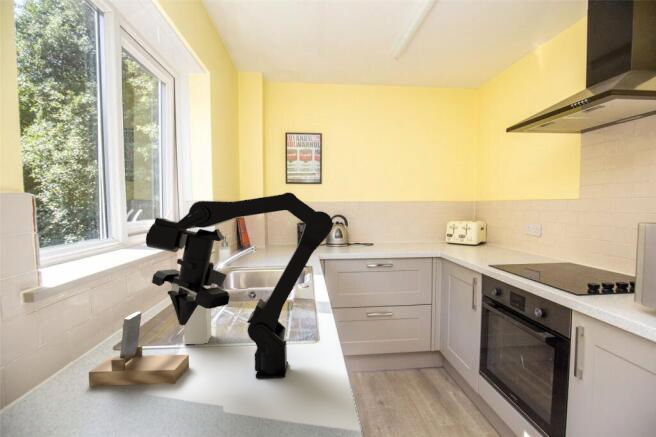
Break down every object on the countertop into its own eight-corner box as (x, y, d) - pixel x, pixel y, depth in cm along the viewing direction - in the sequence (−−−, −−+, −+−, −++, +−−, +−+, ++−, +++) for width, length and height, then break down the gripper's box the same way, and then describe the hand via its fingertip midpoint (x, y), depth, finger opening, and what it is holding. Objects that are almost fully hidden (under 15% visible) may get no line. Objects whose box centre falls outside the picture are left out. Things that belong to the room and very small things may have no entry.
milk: (211, 335, 92) (210, 261, 91) (206, 344, 86) (205, 264, 85) (189, 336, 91) (188, 261, 90) (183, 345, 85) (182, 265, 84)
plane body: (189, 367, 73) (188, 344, 73) (174, 383, 66) (174, 358, 66) (111, 368, 72) (111, 346, 72) (89, 385, 65) (88, 360, 65)
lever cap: (136, 355, 71) (141, 312, 71) (123, 364, 67) (129, 319, 66) (128, 354, 71) (133, 311, 71) (115, 363, 67) (120, 318, 66)
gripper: (252, 265, 72) (238, 330, 72) (197, 246, 80) (185, 304, 80) (216, 269, 62) (200, 344, 62) (157, 246, 70) (143, 313, 70)
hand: (182, 324), depth 69 cm, fingers closed
